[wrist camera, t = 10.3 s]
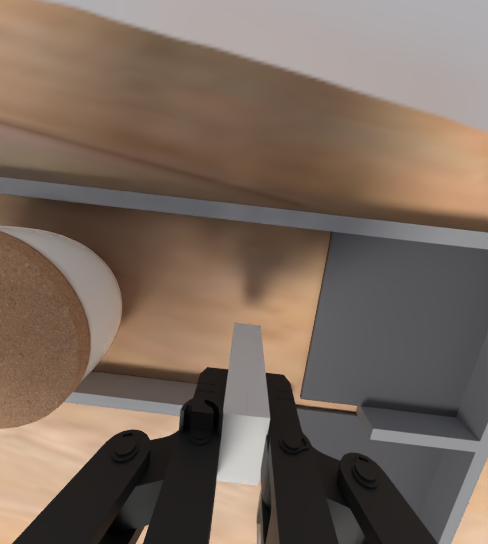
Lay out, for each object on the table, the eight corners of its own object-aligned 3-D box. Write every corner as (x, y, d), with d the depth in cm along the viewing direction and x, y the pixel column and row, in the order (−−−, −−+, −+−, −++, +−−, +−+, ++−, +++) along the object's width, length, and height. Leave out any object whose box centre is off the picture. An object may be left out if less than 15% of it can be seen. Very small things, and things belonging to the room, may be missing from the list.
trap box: (-34, 479, 24) (-90, 530, 20) (-93, 168, 17) (-193, 153, 13) (419, 535, 23) (452, 599, 20) (531, 239, 17) (614, 245, 13)
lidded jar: (1, 218, 18) (-258, 218, 9) (143, 225, 18) (29, 233, 9) (24, 347, 20) (-162, 453, 11) (149, 355, 20) (65, 469, 11)
